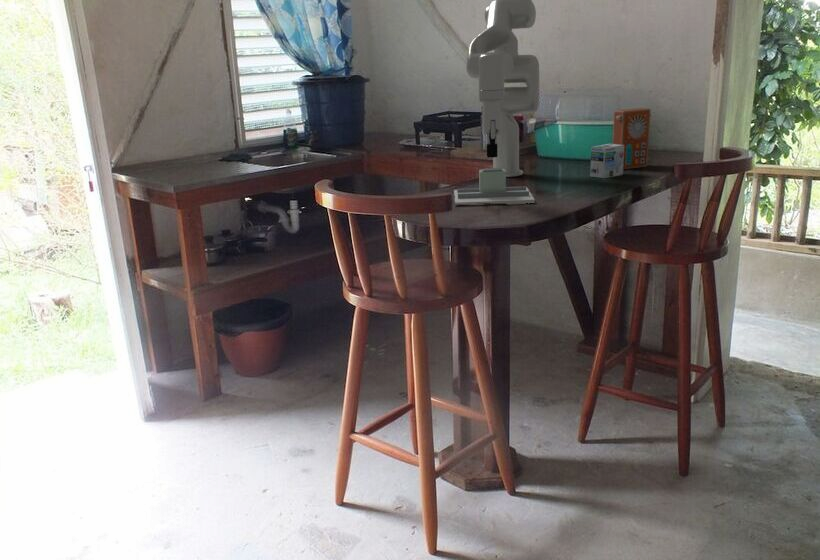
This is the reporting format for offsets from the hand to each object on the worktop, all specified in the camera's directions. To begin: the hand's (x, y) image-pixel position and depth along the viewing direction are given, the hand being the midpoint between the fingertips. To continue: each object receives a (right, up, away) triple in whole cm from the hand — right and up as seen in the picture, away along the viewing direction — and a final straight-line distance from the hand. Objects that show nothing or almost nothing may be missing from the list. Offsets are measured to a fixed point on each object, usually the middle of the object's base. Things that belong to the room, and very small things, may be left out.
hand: (492, 156), depth 215 cm
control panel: (+58, +4, +47) cm, 75 cm away
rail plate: (+1, -12, +4) cm, 13 cm away
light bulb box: (+45, -1, +33) cm, 56 cm away
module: (+1, -11, +4) cm, 11 cm away
